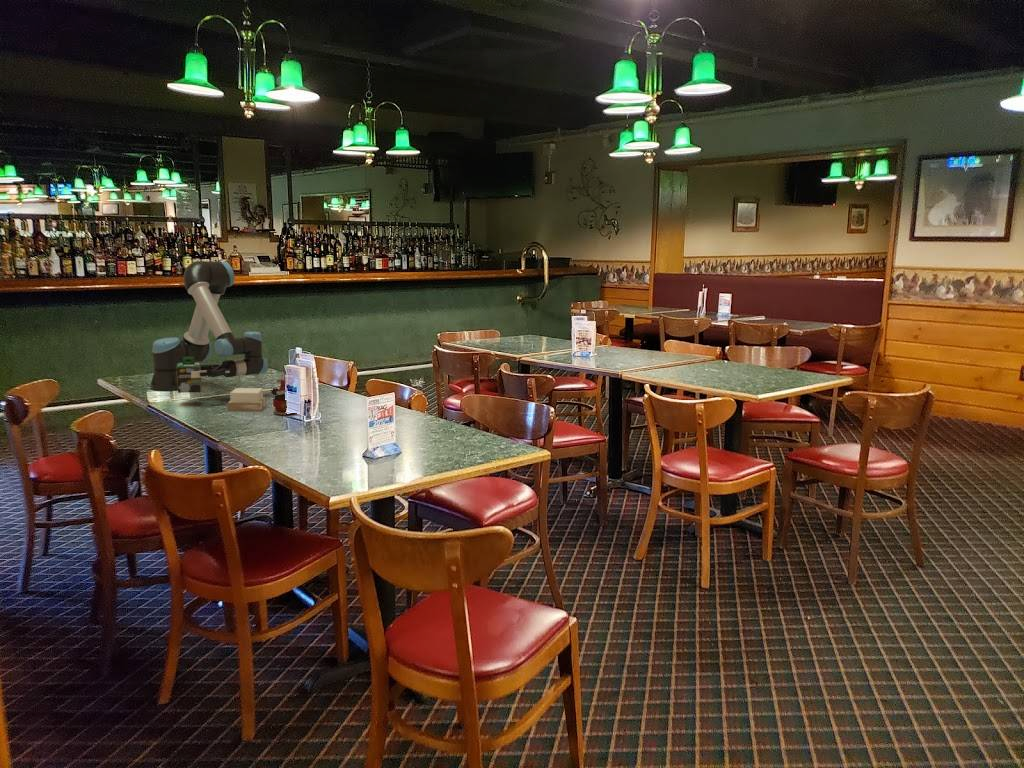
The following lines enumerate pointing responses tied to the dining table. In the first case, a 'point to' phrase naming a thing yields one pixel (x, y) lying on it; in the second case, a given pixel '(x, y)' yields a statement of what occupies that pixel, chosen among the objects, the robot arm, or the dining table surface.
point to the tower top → (246, 395)
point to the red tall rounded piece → (279, 397)
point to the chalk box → (188, 376)
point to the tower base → (247, 405)
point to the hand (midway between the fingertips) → (184, 372)
